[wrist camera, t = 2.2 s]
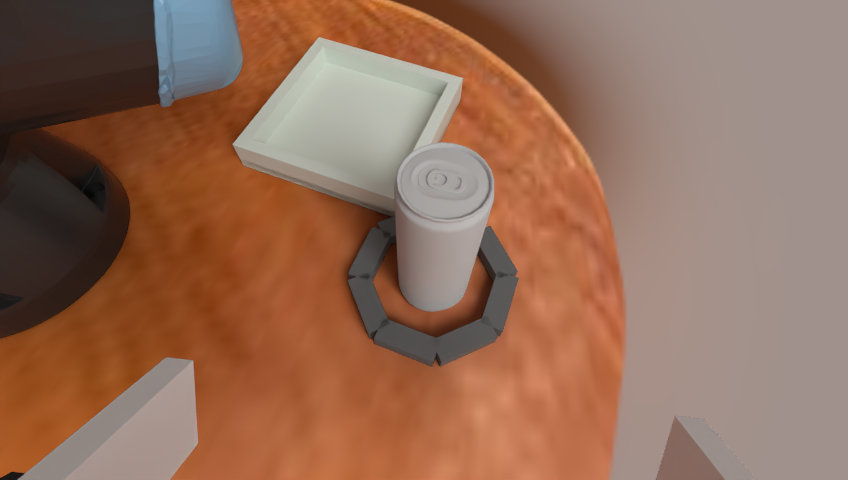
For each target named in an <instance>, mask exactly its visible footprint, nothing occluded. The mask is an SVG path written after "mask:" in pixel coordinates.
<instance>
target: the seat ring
mask: <svg viewBox="0 0 848 480" xmlns="http://www.w3.org/2000/svg"><path fill="white" fill-rule="evenodd" d="M377 223H378V228H375V227H372V228H371V230H370V232H369V234H368V236H367V238H366V240H365V241H364V243H363V245H362V247H361V249H360V251H359V253H358V255H357V257H356V259H355V261H354V263H353V264H352V266H351V268H350V270H349V272H348V275H349V278H350V279H349V280H348V283H349V287H350V289H351V292H352V294H353V297H354V300H355V302H356V305H357V307H358V310H359V312H360V315H361V318H362V320H363V323H364V325H365V328H366V330H367V333H368V336H369V338H373V337H374V342H375V344H376V345H379V346H381V347H384V348H386V349H389V350H391V351H394V352H396V353H399V354H401V355H404V356H407V357H409V358H412V359H414V360H417V361H419V362H422V363H424V364H427V365H429V366H433V363H434V360H435V357H436V359H437V361H438V363H439V365H440V366H442V365H445V364H447V363H449V362H451V361H453V360H456V359H458V358H460V357H462V356H464V355H467V354H469V353H471V352H473V351H476V350H478V349H480V348H482V347H484V346H487V345H489V344H491V343H493V342H495V340H496V339H497V337H498V336H500V335H501V333H502V332H503V329H504V326H505V322H506V319H507V315H508V312H509V309H510V305H511V302H512V299H513V295H514V292H515V289H516V285H517V282H518V278H517V277H515V275H516V273H517V272H518V271H517V269H516V268H515V266H514V264H513V263H512V261H511V259H510V258H509V256H508V254H507V253H506V251H505V249H504V248H503V246H502V244H501V243H500V241H499V240H498V238H497V236H496V235H495V233H494V231H493V230H492V228H491V226H488V227H486V228H485V230H484V234H483V237H482V240H481V243H480V247H479V250H478V253H477V254H478V256H479V257H480V259H481V261H482V263H483V265H484V266H485V268H486V270H487V272H488V273H489V275H490V277H491V279H492V280H493V284H492V287H491V290H490V293H489V296H488V300H487V303H486V306H485V309H484V312H483V315H482V318H481V319H479V320H476V321H474V322H472V323H470V324H467V325H465V326H463V327H460V328H458V329H456V330H453V331H451V332H449V333H447V334H444V335H442V336H440V337H437V338H435V337H432V336H430V335H427V334H425V333H422V332H419V331H417V330H414V329H412V328H409V327H406V326H404V325H401V324H399V323H396V322H393V321H391V320H388V318H387V316H386V313H385V311H384V308H383V306H382V304H381V301H380V299H379V296H378V294H377V292H376V289H375V287H374V285H373V282H372V281H373V279H374V277H375V275H376V273H377V271H378V269H379V267H380V265H381V263H382V261H383V259H384V257H385V254H386V252H387V250H388V248H389V246H390V245H392V244H394V243H397V240H396V221H395V216H394V217H391V218H388V219H385V220H382V221H380V222H377Z"/></svg>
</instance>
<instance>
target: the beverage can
mask: <svg viewBox="0 0 848 480" xmlns="http://www.w3.org/2000/svg"><path fill="white" fill-rule="evenodd" d="M493 201H494V178H493V175H492V171H491V169H490V167H489V166H488V164H487V163H486V161H485V160H484V159H483V158H482V157H481V156H480V155H479V154H477V153H476V152H474V151H473V150H471V149H469V148H467V147H464V146H461V145H458V144H454V143H444V142H442V143H432V144H428V145H425V146H422V147H419V148H418V149H416V150H414V151H413V152H411V153H410V154H409V155H408V156H407V157H406V158H405V159H404V160H403V161H402V163H401V165H400V167H399V169H398V173H397V177H396V180H395V186H394V203H395V221H396V240H397V259H398V278H399V286H400V290H401V292H402V294H403V296H404V297H405V299H406V300H407V301H408V302H409V303H410V304H411V305H413V306H414V307H416V308H418V309H421V310H423V311H433V312H435V311H441V310H445V309H448V308H450V307H453V306H454V305H455V304H457V303H458V302H459V301H460V300H461V299H462V297H463V296H464V294H465V291H466V289H467V286H468V283H469V279H470V276H471V273H472V269H473V266H474V263H475V260H476V256H477V253H478V250H479V247H480V243H481V240H482V237H483V234H484V230H485V227H486V224H487V221H488V217H489V214H490V211H491V208H492V204H493Z"/></svg>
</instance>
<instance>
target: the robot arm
mask: <svg viewBox="0 0 848 480" xmlns="http://www.w3.org/2000/svg"><path fill="white" fill-rule="evenodd" d="M242 63H243V53H242V46H241V41H240V36H239V32H238V27H237V22H236V18H235V13H234V9H233V4H232V0H0V338H3V337H6V336H10V335H13V334H16V333H19V332H21V331H24V330H26V329H29V328H31V327H33V326H35V325H38V324H40V323H42V322H44V321H45V320H47V319H49V318H51V317H53V316H54V315H56V314H58V313H59V312H61V311H62V310H64V309H65V308H67V307H68V306H69V305H71V304H72V303H74V302H75V301H76V300H77V299H79V298H80V297H81V296H82V295H83V294H85V293H86V292H87V291H88V290H89V289H90V288H91V287H92V286H93V285H94V284H95V283H96V282H97V281H98V280H99V279H100V278H101V276H102V275H103V274H104V273H105V272H106V270H107V269H108V268H109V266H110V265H111V263H112V262H113V261H114V259H115V257H116V256H117V254H118V252H119V250H120V248H121V246H122V244H123V241H124V239H125V236H126V233H127V229H128V224H129V202H128V198H127V195H126V192H125V190H124V188H123V187H122V185H121V183H120V182H119V181H118V180H117V178H116V177H115V176H114V175H113V174H112V173H111V172H110V171H109V170H108V169H107V168H106V167H105V166H104V165H103V164H102V163H101V162H100V161H99V160H97V159H96V158H95V157H94V156H92V155H91V154H89V153H88V152H86V151H85V150H83V149H81V148H79V147H77V146H75V145H73V144H71V143H69V142H67V141H65V140H63V139H61V138H59V137H57V136H55V135H53V134H51V133H49V132H47V131H45V130H43V129H41V127H46V126H51V125H56V124H61V123H66V122H71V121H76V120H81V119H85V118H90V117H95V116H100V115H105V114H110V113H115V112H120V111H125V110H129V109H134V108H139V107H144V106H149V105H154V104H160V106H162V107H168V106H170V105H172V103H173V101H175V100H179V99H183V98H187V97H191V96H195V95H199V94H203V93H207V92H211V91H215V90H219V89H222V88H224V87H226V86H228V85H229V84H231V83H232V82H233V81H234V80H235V79H236V77H237V76H238V74H239V72H240V70H241V67H242ZM197 444H198V435H197V417H196V400H195V382H194V365H193V360H186V359H177V358H168V357H166V358H164V359H163V360H162V361H161V362H160V363H158V364H157V365H156V366H155V367H154V368H152V369H151V370H150V371H149V372H147V373H146V374H145V375H144V376H143V377H141V378H140V379H139V380H138V381H137V382H135V383H134V384H133V385H132V386H131V387H129V388H128V389H127V390H126V391H124V392H123V393H122V394H121V395H120V396H118V397H117V398H116V399H115V400H114V401H112V402H111V403H110V404H109V405H107V406H106V407H105V408H104V409H103V410H101V411H100V412H99V413H98V414H97V415H95V416H94V417H93V418H92V419H91V420H89V421H88V422H87V423H86V424H84V425H83V426H82V427H81V428H80V429H78V430H77V431H76V432H75V433H74V434H72V435H71V436H70V437H69V438H68V439H66V440H65V441H64V442H63V443H61V444H60V445H59V446H58V447H57V448H55V449H54V450H53V451H52V452H51V453H49V454H48V455H47V456H46V457H44V458H43V459H42V460H41V461H40V462H38V463H37V464H36V465H35V466H34V467H32V468H31V469H30V470H29V471H28V472H26V473H17V472H11V473H9V474H7V475H5V476H3V477H1V478H0V480H170V479H171V478H172V476H173V475H174V474H175V472H176V471H177V470H178V469H179V467H180V466H181V465H182V463H183V462H184V461H185V460H186V458H187V457H188V456H189V455H190V453H191V452H192V451H193V449H194V448H195V447H196V446H197ZM656 480H757V479H756V478H755V477H754V476H753V475H752V473H751V472H750V471H749V470H748V469H747V468H746V467H745V465H744V464H743V463H742V462H741V461H740V460H739V459H738V458H737V456H736V455H735V454H734V453H733V452H732V451H731V449H730V448H729V447H728V446H727V445H726V444H725V443H724V442H723V440H722V439H721V438H720V437H719V436H718V434H717V433H716V432H715V431H714V430H713V429H712V428H711V427H710V425H709V424H708V423H707V422H706V421H705V420H704V419H700V418H691V417H683V416H675V417H674V421H673V424H672V427H671V431H670V434H669V437H668V441H667V444H666V448H665V451H664V454H663V458H662V461H661V464H660V468H659V471H658V474H657V478H656Z"/></svg>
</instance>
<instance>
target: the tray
mask: <svg viewBox="0 0 848 480" xmlns="http://www.w3.org/2000/svg"><path fill="white" fill-rule="evenodd" d="M462 82H463V78H461V77H457V76H454V75H450V74H447V73H443V72H440V71H436V70H433V69H429V68H425V67H422V66H418V65H415V64H411V63H408V62H404V61H401V60H397V59H394V58H390V57H387V56H383V55H380V54H376V53H373V52H369V51H366V50H362V49H359V48H355V47H352V46H348V45H345V44H341V43H338V42H334V41H331V40H327V39H324V38H320V37H319V38H318V39H317V40H316V41H315V43H314V44H313V45H312V46H311V47H310V49H309V50H308V51H307V52H306V54H305V55H304V56H303V57H302V59H301V60H300V61H299V62H298V64H297V65H296V66H295V67H294V69H293V70H292V71H291V72H290V74H289V75H288V76H287V77H286V79H285V80H284V81H283V82H282V83H281V85H280V86H279V87H278V88H277V90H276V91H275V92H274V93H273V95H272V96H271V97H270V98H269V100H268V101H267V102H266V103H265V105H264V106H263V107H262V108H261V110H260V111H259V112H258V113H257V115H256V116H255V117H254V118H253V120H252V121H251V122H250V123H249V124H248V126H247V127H246V128H245V129H244V131H243V132H242V133H241V134H240V136H239V137H238V138H237V139H236V141H235V142H234V143H233V144H232V145H233V147H234V149H235V151H236V152H237V154H238V156H239V158H240V160H241V162H242V164H243V165H244V166H246V167H249V168H252V169H255V170H258V171H261V172H264V173H267V174H270V175H272V176H275V177H278V178H281V179H284V180H287V181H290V182H293V183H296V184H299V185H301V186H304V187H307V188H310V189H313V190H316V191H319V192H322V193H325V194H328V195H330V196H333V197H336V198H339V199H342V200H345V201H348V202H351V203H354V204H357V205H359V206H362V207H365V208H368V209H371V210H374V211H377V212H380V213H383V214H385V215H388V216H391V217H394V216H395V203H394V186H395V180H396V177H397V173H398V169H399V167H400V165H401V163H402V161H403V160H404V159H405V158H406V157H407V156H408V155H409V154H410V153H411V152H413V151H414V150H416V149H418V148H419V147H422V146H425V145H428V144H432V143H440V141H441V139H442V137H443V135H444V133H445V131H446V128H447V126H448V124H449V122H450V120H451V118H452V116H453V114H454V112H455V110H456V108H457V106H458V104H459V102H460V97H461V90H462Z"/></svg>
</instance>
